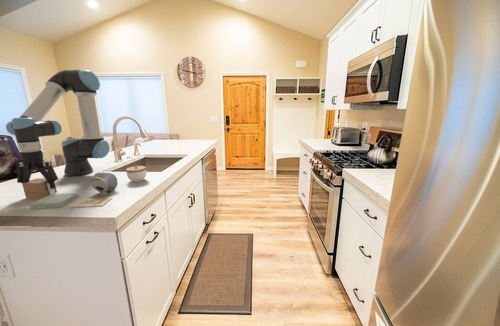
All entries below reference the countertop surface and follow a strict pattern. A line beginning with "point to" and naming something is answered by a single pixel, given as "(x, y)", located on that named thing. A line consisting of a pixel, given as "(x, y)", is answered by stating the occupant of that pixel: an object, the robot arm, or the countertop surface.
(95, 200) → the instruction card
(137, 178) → the lidded jar
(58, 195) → the base plate
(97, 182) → the decorative toy
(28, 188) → the walnut cube
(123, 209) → the countertop surface
